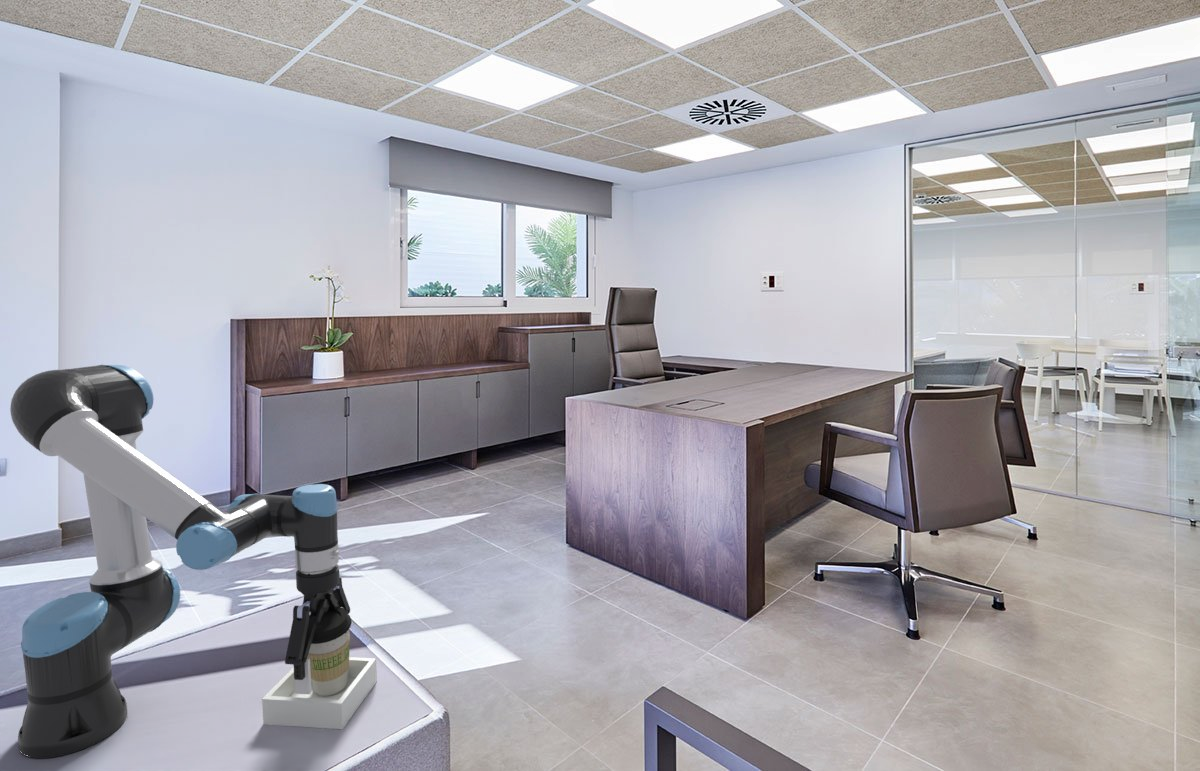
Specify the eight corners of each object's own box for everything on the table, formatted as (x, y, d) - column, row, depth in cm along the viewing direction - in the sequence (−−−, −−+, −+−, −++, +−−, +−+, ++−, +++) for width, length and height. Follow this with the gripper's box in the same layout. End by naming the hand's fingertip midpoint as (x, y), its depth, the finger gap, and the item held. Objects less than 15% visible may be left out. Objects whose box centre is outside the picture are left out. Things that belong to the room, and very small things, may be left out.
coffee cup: (340, 705, 121) (333, 637, 117) (293, 699, 123) (284, 632, 119) (366, 670, 131) (360, 606, 127) (322, 665, 132) (314, 601, 128)
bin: (263, 724, 117) (262, 698, 116) (306, 677, 132) (305, 654, 131) (342, 729, 116) (341, 703, 115) (376, 681, 131) (376, 658, 130)
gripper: (301, 597, 108) (306, 713, 111) (365, 543, 133) (368, 639, 135) (259, 595, 109) (265, 711, 111) (330, 542, 133) (334, 638, 136)
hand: (321, 672), depth 123 cm, fingers open, 13 cm apart
